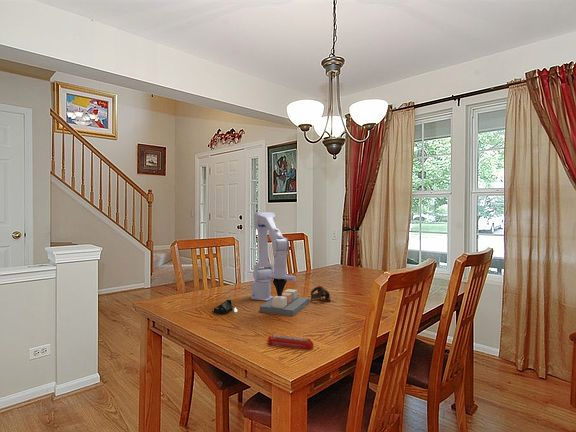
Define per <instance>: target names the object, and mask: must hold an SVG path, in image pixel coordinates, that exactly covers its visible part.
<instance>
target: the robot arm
mask: <svg viewBox="0 0 576 432" xmlns="http://www.w3.org/2000/svg"><path fill="white" fill-rule="evenodd" d="M276 217H277V216H276V214H275V212H274V211H271V212H265V211H264V212H263V211H261V212H260V211H259V212H258V211H256V212H255V213H254V216H253V225H254V226H253V227H254V229H255V230H257V242H258V243H257V245H258V261H257V263H255V265H254V266H253V270H252V271H253V274H252V276H253V281H252V282H251V287H250V289H251V290H250V291H251V292H250V293H251V294H250V295H251V296H250V300H258V301H266V302H268V301H269V300H271V299H272V298H274V297H275V296H273V295H272V291H271V288H272V283H273V286H274V287H275V290H276V294H277V295H278V296H282V293H283V292H284V289H285V286H286V284H287V283H288V281H289V282H296V281H297V276H295V275H290V274H287V268H288V267H287V261H288V259H287V258H288V251H289V248H290V242H289V239H288V238H287V237H284V236H283V233H282V232H281V230H280V229H279V228H277V226H276V220H277V219H276ZM268 236H269V239H270V241H271V249H272V255H273V264H272V263H271V262H270V261H269V245H268ZM271 282H272V283H271ZM277 295H276V296H277Z"/></svg>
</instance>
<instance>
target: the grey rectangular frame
mask: <svg viewBox="0 0 576 432" xmlns="http://www.w3.org/2000/svg"><path fill="white" fill-rule="evenodd" d="M276 296H278V295H276ZM309 303H310V297H301V296H297V299H295V300H292V302H291V303H290V304H287V306H286V307H284V308H275V307H272V298H271V299H270V300H268V301H266V302H264V303H262V304H261V305H259V313H267V314H273V315H280V316H286V317H287V316H288V317H294V316H296V315H297V314H298V313H299V312H300V311H301V310H303V309H304V308H305V307H306V306H307V305H309Z"/></svg>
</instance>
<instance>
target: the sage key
mask: <svg viewBox="0 0 576 432" xmlns="http://www.w3.org/2000/svg"><path fill="white" fill-rule="evenodd" d="M283 292H285V293H292V300H295V299H297V297H298V289H291V288H287V289H285V290H283Z"/></svg>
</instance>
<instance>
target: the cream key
mask: <svg viewBox="0 0 576 432" xmlns="http://www.w3.org/2000/svg"><path fill="white" fill-rule="evenodd" d="M271 299H272V307H275V308H284V307H286V306H287V297H284V296H277V295H275V296H274V297H273V298H271Z"/></svg>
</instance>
